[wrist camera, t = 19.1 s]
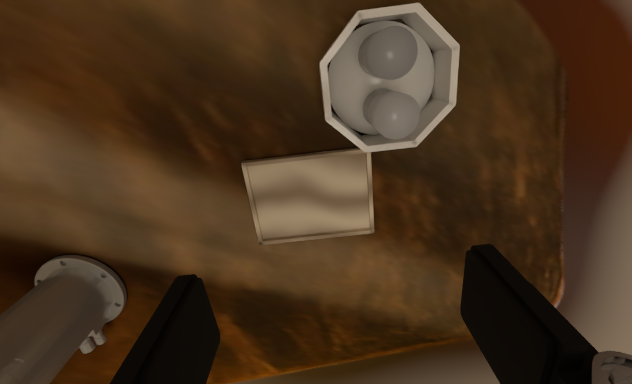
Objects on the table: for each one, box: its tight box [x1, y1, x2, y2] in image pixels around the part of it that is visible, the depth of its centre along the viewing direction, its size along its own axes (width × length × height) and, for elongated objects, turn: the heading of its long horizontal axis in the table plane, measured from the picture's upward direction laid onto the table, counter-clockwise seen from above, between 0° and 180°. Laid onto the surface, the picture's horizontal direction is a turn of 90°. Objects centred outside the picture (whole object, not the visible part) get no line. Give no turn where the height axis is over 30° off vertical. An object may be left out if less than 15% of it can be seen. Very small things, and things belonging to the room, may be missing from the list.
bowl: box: [319, 3, 460, 153], centre depth 32 cm, size 13×13×5 cm
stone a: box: [363, 88, 420, 140], centre depth 32 cm, size 4×4×6 cm
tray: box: [241, 148, 374, 245], centre depth 40 cm, size 12×16×1 cm
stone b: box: [358, 26, 418, 80], centre depth 30 cm, size 4×4×6 cm
